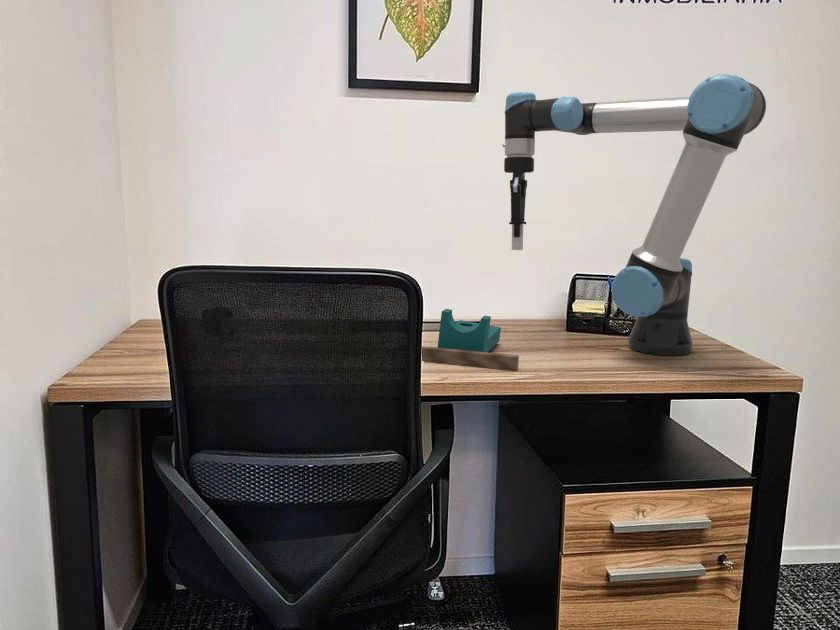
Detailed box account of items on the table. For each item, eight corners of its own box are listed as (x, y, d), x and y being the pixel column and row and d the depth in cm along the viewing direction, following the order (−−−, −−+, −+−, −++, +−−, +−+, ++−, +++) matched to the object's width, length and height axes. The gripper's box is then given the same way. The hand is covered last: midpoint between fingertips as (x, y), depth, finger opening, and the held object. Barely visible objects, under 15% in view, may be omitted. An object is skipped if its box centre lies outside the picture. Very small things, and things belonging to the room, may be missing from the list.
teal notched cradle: (481, 363, 158) (487, 319, 156) (436, 354, 161) (441, 311, 159) (498, 346, 175) (503, 306, 172) (457, 339, 178) (462, 299, 176)
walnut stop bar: (518, 368, 152) (518, 355, 151) (516, 370, 150) (517, 357, 149) (422, 359, 158) (422, 346, 157) (419, 361, 156) (420, 348, 156)
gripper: (508, 158, 183) (506, 247, 187) (500, 155, 170) (498, 251, 174) (537, 157, 181) (534, 248, 185) (530, 155, 168) (528, 252, 172)
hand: (517, 249), depth 179 cm, fingers closed
